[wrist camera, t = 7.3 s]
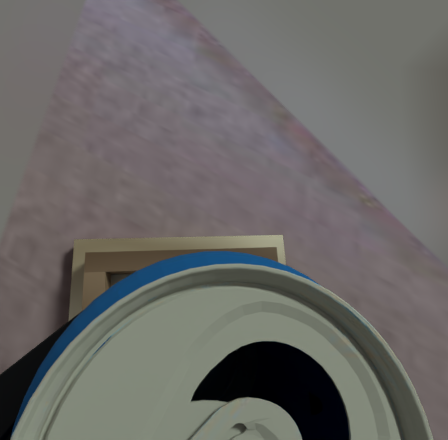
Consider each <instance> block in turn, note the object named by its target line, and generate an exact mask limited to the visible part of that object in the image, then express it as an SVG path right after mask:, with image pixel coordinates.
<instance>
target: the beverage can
mask: <svg viewBox="0 0 448 440" xmlns="http://www.w3.org/2000/svg"><path fill="white" fill-rule="evenodd" d="M309 392H310V393H311V394H313V395H314V396H316V397H318V398H319V399H320V401H321V403H322V411H321V412H320V413H318V414H316V415H311V409H310V400H309ZM10 440H433V437H432V434H431V430H430V427H429V424H428V421H427V418H426V414H425V412H424V410H423V407H422V405H421V403H420V400H419V398H418V395H417V393H416V391H415V388H414V386H413V385H412V383H411V381H410V379H409V377H408V375H407V374H406V372H405V370H404V368H403V366H402V365H401V363H400V361H399V360H398V359H397V357H396V356H395V354H394V353H393V351H392V350H391V348H390V347H389V346H388V344H387V343H386V341H385V340H384V339H383V338H382V337H381V336H380V334H379V333H378V332H377V331H376V330H375V329H374V328H373V326H372V325H371V324H370V323H369V322H368V321H367V320H366V319H365V318H364V317H363V316H361V315H360V314H359V313H358V312H357V311H356V310H355V309H354V308H353V307H352V306H350V305H349V304H348V303H346V302H345V301H343V300H342V299H341V298H339V297H338V296H336V295H335V294H334V293H332V292H331V291H329V290H327V289H325V288H324V287H322V286H320V285H319V284H317V283H316V282H315V281H313V280H312V279H310V278H309V277H308V276H306V275H304V274H302V273H300V272H298V271H296V270H295V269H293V268H291V267H289V266H286V265H284V264H281V263H279V262H276V261H273V260H271V259H268V258H264V257H260V256H256V255H252V254H247V253H239V252H230V251H203V252H197V253H190V254H184V255H179V256H176V257H172V258H169V259H165V260H162V261H159V262H156V263H154V264H152V265H149V266H147V267H145V268H142V269H140V270H138V271H136V272H134V273H133V274H131V275H129V276H127V277H126V278H124V279H122V280H121V281H119V282H117V283H116V284H114V285H113V286H112V287H110V288H109V289H108V290H106V291H105V292H104V293H102V294H101V295H100V296H98V297H97V298H96V299H94V300H93V301H92V302H91V303H90V304H89V305H88V306H87V307H86V308H85V309H84V310H83V311H82V312H81V313H80V314H79V315H78V316H77V317H76V318H75V319H74V320H73V321H72V323H71V324H70V325H69V326H68V327H67V329H66V330H65V331H64V332H63V333H62V335H61V336H60V337H59V338H58V340H57V341H56V342H55V344H54V345H53V347H52V348H51V350H50V351H49V353H48V355H47V356H46V358H45V359H44V361H43V362H42V364H41V365H40V367H39V368H38V370H37V372H36V374H35V377H34V379H33V381H32V383H31V385H30V387H29V389H28V391H27V393H26V395H25V397H24V399H23V402H22V405H21V407H20V410H19V413H18V416H17V418H16V421H15V424H14V427H13V430H12V434H11V438H10Z"/></svg>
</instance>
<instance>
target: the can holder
mask: <svg viewBox="0 0 448 440" xmlns="http://www.w3.org/2000/svg"><path fill="white" fill-rule="evenodd" d="M203 251H230V252H239V253H247V254H252V255H256V256H260V257H264V258H268V259H271V260H273V261H276V262H279V263H281V264H284V265H286V261H285V252H284V243H283V235H264V236H217V237H171V238H124V239H77V240H74V251H73V265H72V279H71V292H70V306H69V320H68V321H70V320H71V319H72V318H73V317H75V316H76V315H77V314H79V313H80V312H81V311H83V310H84V309H85V308H86V307H87V306H88V305H89V304H90V303H91V302H92V301H93V300H94V299H96V298H97V297H98V296H100V295H101V294H102V293H104V292H105V291H106V290H108V289H109V288H110V287H112V286H113V285H114V284H116V283H117V282H119V281H121V280H122V279H124V278H126V277H127V276H129V275H131V274H133V273H134V272H136V271H138V270H140V269H142V268H145V267H147V266H149V265H152V264H154V263H156V262H159V261H162V260H165V259H169V258H172V257H176V256H179V255H184V254H190V253H197V252H203Z"/></svg>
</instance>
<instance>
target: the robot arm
mask: <svg viewBox="0 0 448 440" xmlns="http://www.w3.org/2000/svg"><path fill="white" fill-rule="evenodd" d="M81 312H82V311H81ZM81 312H80V313H81ZM80 313H79V314H80ZM79 314H77V315H76V316H75V317H73V318H72V319H71V320H70V321H68V322H67V323H66V324H65V325H63V326H62V327H61V328H59V329H58V330H57V331H56V332H54V333H53V334H52V335H50V336H49V337H48V338H47V339H45V340H44V341H43V342H41V343H40V344H39V345H38V346H36V347H35V348H34V349H32V350H31V351H30V352H29V353H27V354H26V355H25V356H23V357H22V358H21V359H20V360H18V361H17V362H16V363H15V364H13V365H12V366H11V367H9V368H8V369H7V370H6V371H4V372H3V373H2V374H0V440H10V438H11V434H12V430H13V427H14V424H15V421H16V418H17V416H18V413H19V410H20V407H21V405H22V402H23V399H24V397H25V395H26V393H27V391H28V389H29V387H30V385H31V383H32V381H33V379H34V377H35V374H36V372H37V370H38V368H39V367H40V365H41V364H42V362H43V361H44V359H45V358H46V356H47V355H48V353H49V351H50V350H51V348H52V347H53V345H54V344H55V342H56V341H57V340H58V338H59V337H60V336H61V335H62V333H63V332H64V331H65V330H66V329H67V327H68V326H69V325H70V324H71V323H72V321H73V320H74V319H75V318H76V317H77V316H78V315H79ZM309 400H310V409H311V415H316V414H318V413H320V412H321V411H322V403H321V401H320V399H319V398H318V397H316V396H314V395H313V394H311V393H310V392H309Z"/></svg>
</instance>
